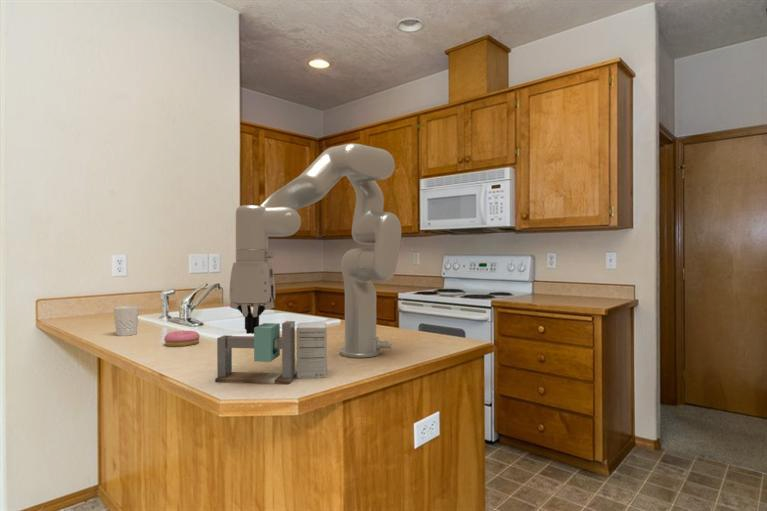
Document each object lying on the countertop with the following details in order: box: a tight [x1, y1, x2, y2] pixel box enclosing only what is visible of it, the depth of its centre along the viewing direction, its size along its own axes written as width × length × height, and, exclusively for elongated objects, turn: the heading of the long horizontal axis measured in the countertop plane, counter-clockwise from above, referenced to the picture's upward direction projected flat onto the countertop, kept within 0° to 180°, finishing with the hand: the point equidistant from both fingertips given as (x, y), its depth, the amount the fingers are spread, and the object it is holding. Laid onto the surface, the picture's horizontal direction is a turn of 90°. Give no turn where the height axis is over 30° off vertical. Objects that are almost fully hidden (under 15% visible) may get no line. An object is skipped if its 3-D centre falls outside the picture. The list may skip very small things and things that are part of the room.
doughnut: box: [163, 330, 201, 348], centre depth 156 cm, size 11×11×4 cm
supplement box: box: [296, 321, 328, 379], centre depth 119 cm, size 7×7×13 cm
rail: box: [216, 320, 296, 383], centre depth 114 cm, size 18×4×14 cm, turn 84°
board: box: [214, 371, 297, 385], centre depth 114 cm, size 18×6×1 cm, turn 84°
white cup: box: [113, 305, 139, 337], centre depth 173 cm, size 8×8×10 cm
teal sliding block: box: [253, 322, 281, 363], centre depth 113 cm, size 4×7×8 cm, turn 174°
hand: (252, 332), depth 114 cm, fingers closed
